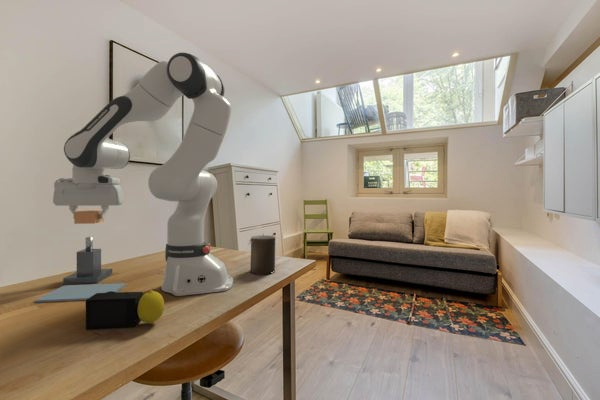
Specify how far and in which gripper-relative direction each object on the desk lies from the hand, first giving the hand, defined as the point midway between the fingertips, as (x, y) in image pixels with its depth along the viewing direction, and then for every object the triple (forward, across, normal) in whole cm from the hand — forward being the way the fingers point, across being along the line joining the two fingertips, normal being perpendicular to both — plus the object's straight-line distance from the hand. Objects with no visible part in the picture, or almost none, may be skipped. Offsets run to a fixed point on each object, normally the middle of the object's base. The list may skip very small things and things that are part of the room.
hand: (89, 218), depth 94 cm
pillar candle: (+22, +60, +3) cm, 64 cm away
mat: (+21, +6, -14) cm, 26 cm away
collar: (+1, 0, 0) cm, 1 cm away
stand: (+21, 0, 0) cm, 21 cm away
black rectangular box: (+22, +24, -35) cm, 48 cm away
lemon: (+22, +32, -37) cm, 53 cm away
